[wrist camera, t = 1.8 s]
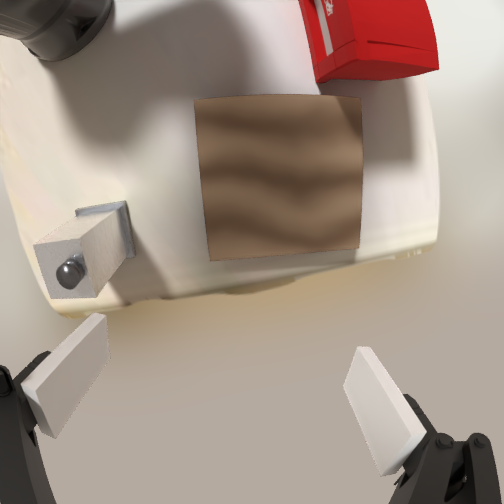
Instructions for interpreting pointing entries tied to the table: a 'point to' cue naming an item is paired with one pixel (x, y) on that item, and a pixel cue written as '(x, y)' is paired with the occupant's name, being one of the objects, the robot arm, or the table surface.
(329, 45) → the fire alarm
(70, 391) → the robot arm
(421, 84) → the table surface
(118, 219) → the aluminium housing
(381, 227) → the table surface
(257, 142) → the walnut stand
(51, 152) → the table surface
